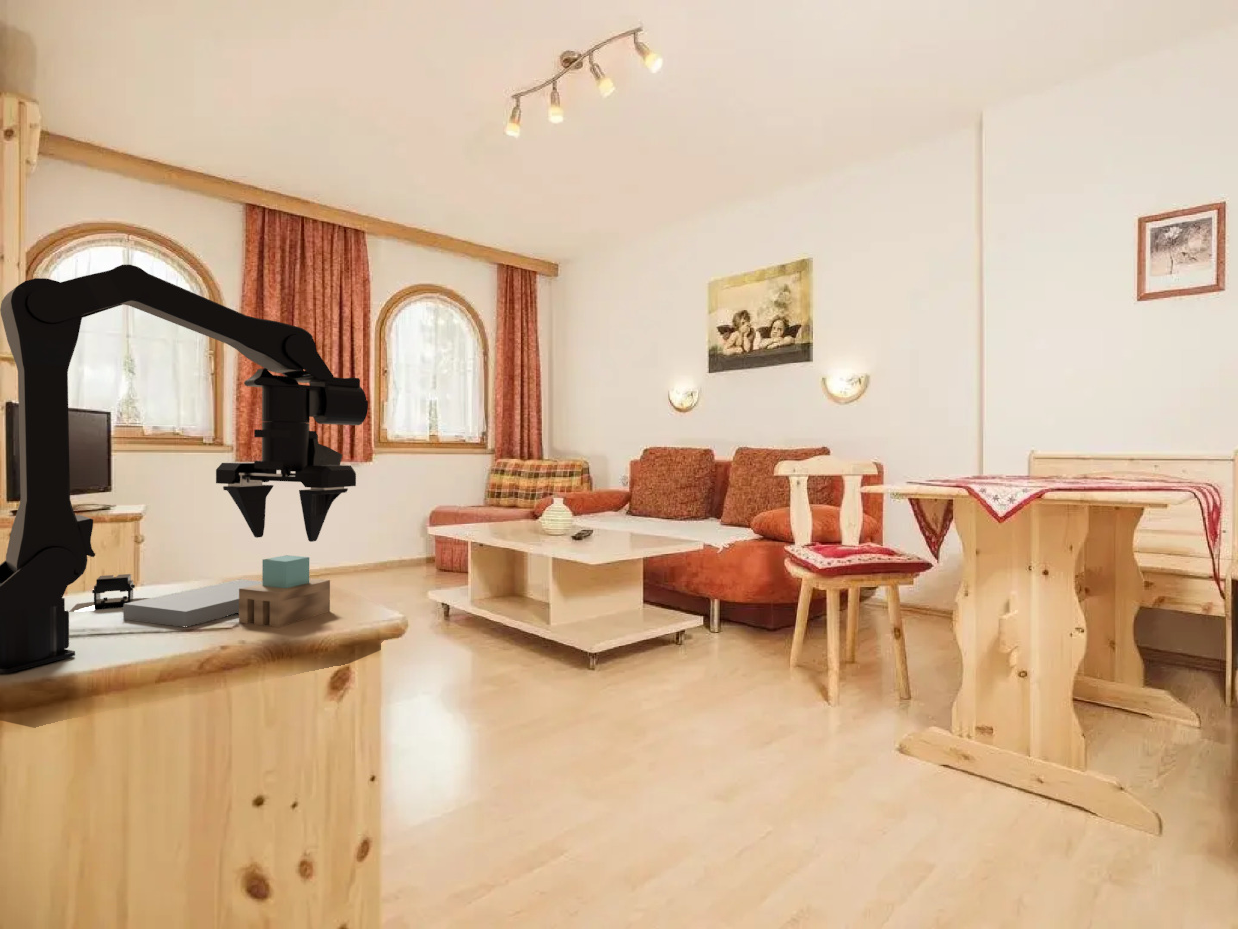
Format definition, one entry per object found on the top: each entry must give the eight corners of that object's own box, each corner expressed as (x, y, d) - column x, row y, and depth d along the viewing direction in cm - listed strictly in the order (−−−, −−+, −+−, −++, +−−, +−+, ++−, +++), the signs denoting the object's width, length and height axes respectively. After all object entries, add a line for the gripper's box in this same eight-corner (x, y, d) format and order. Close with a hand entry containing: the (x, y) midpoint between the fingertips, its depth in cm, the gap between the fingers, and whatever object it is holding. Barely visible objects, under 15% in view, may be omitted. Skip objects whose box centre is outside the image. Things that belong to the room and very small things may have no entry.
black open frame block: (168, 599, 103) (168, 569, 103) (163, 610, 96) (163, 578, 96) (64, 607, 97) (64, 575, 97) (51, 619, 90) (51, 585, 90)
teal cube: (286, 588, 89) (286, 561, 89) (262, 585, 90) (262, 559, 90) (309, 582, 93) (309, 557, 93) (286, 580, 94) (286, 555, 94)
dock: (185, 627, 85) (185, 611, 85) (123, 619, 89) (123, 603, 89) (296, 598, 102) (296, 584, 102) (240, 591, 106) (240, 579, 106)
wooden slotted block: (278, 628, 86) (278, 592, 86) (239, 623, 88) (239, 588, 88) (329, 612, 95) (329, 580, 95) (292, 608, 97) (293, 576, 97)
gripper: (383, 425, 95) (382, 536, 96) (279, 424, 102) (278, 529, 102) (325, 422, 85) (324, 546, 85) (213, 421, 91) (212, 537, 91)
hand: (285, 539), depth 91 cm, fingers open, 9 cm apart
